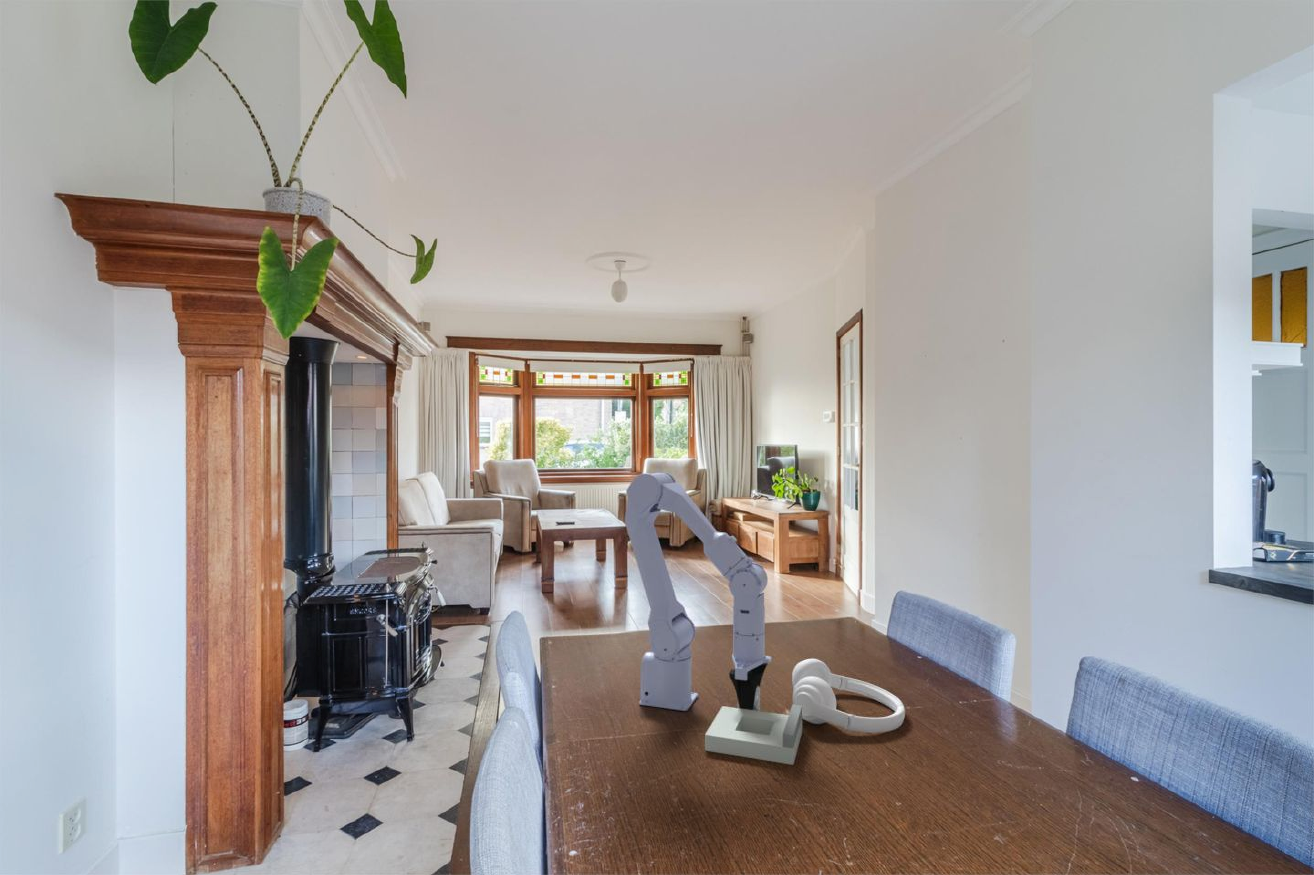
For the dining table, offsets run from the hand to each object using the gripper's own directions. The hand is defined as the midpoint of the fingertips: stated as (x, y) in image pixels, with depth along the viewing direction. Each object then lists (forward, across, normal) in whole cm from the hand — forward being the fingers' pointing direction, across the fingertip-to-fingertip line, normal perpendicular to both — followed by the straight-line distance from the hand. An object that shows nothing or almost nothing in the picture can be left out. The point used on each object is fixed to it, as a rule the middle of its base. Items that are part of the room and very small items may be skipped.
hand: (748, 706), depth 116 cm
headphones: (+2, +7, -17) cm, 18 cm away
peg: (+1, 0, 0) cm, 1 cm away
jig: (+2, -10, -3) cm, 11 cm away
